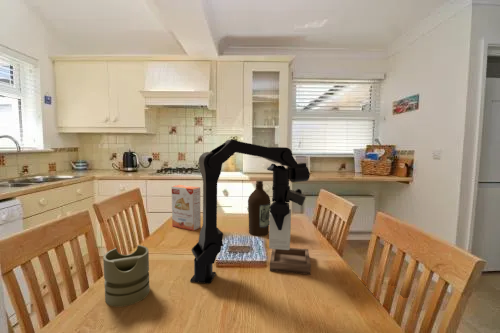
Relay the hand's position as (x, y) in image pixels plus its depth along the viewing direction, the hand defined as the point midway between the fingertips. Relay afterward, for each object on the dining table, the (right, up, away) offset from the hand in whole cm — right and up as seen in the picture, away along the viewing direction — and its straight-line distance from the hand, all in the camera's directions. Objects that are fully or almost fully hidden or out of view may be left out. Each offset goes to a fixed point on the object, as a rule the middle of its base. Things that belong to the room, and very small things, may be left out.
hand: (280, 226), depth 92 cm
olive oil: (-7, -11, +31) cm, 34 cm away
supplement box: (0, -7, +1) cm, 7 cm away
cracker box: (-43, -10, +38) cm, 58 cm away
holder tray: (+4, -13, 0) cm, 14 cm away
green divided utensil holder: (-45, -15, -19) cm, 51 cm away
